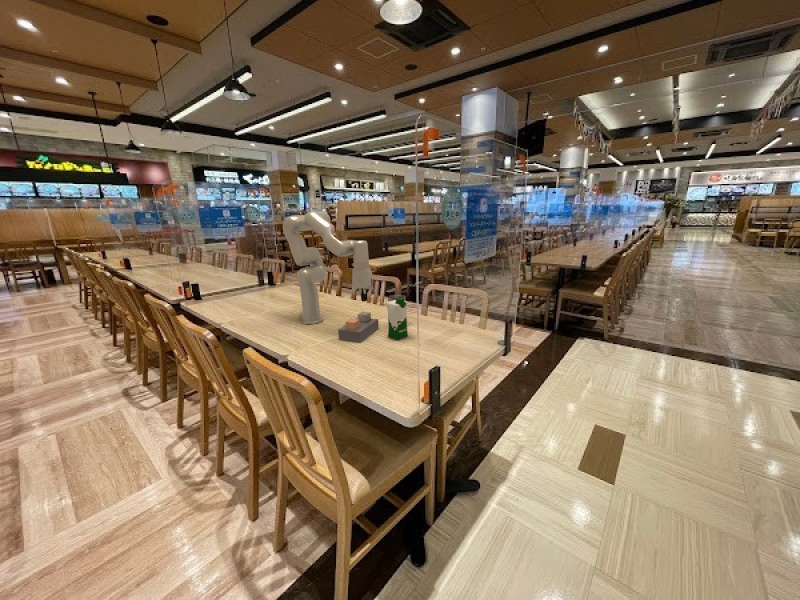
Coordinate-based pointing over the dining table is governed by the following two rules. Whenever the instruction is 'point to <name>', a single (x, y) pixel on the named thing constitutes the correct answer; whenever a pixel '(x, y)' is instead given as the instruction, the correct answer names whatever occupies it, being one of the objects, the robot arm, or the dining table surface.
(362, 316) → the metal plunger
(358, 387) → the dining table surface
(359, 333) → the button box
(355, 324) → the terracotta plunger
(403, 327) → the milk carton
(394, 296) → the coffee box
